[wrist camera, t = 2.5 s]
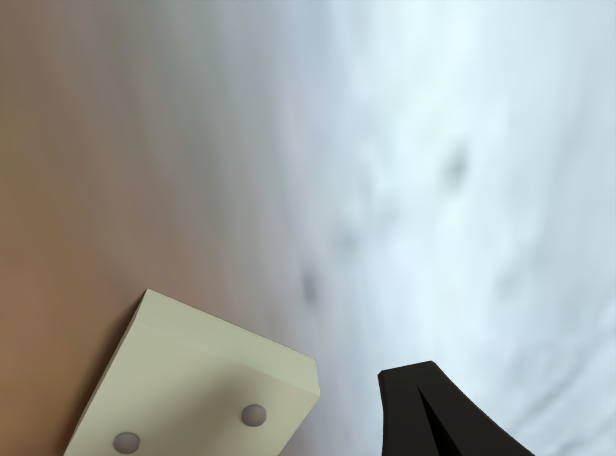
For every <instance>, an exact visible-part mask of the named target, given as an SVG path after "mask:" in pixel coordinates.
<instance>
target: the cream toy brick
mask: <svg viewBox="0 0 616 456" xmlns="http://www.w3.org/2000/svg"><path fill="white" fill-rule="evenodd" d="M319 397H320V390H319V384H318V377H317V371H316V365H315V359H313V358H311V357H309V356H306V355H304V354H302V353H299V352H297V351H294V350H292V349H290V348H287V347H285V346H283V345H280V344H278V343H276V342H273V341H271V340H268V339H266V338H264V337H261V336H259V335H257V334H254V333H252V332H250V331H247V330H245V329H242V328H240V327H238V326H235V325H233V324H231V323H228V322H226V321H224V320H221V319H219V318H216V317H214V316H212V315H209V314H207V313H205V312H202V311H200V310H198V309H195V308H193V307H190V306H188V305H186V304H183V303H181V302H179V301H176V300H174V299H172V298H169V297H167V296H164V295H162V294H160V293H157V292H155V291H153V290H150V289H147V290H146V292H145V294H144V296H143V298H142V300H141V302H140V304H139V306H138V308H137V310H136V311H135V313H134V315H133V317H132V319H131V321H130V323H129V325H128V327H127V329H126V331H125V333H124V334H123V336H122V338H121V340H120V342H119V344H118V346H117V348H116V350H115V352H114V354H113V356H112V357H111V359H110V361H109V363H108V365H107V367H106V369H105V371H104V373H103V375H102V377H101V378H100V380H99V382H98V384H97V386H96V388H95V390H94V392H93V394H92V396H91V398H90V400H89V401H88V403H87V405H86V407H85V409H84V411H83V413H82V415H81V417H80V419H79V421H78V424H77V426H76V428H75V430H74V433H73V435H72V437H71V439H70V442H69V444H68V446H67V448H66V451H65V453H64V455H63V456H278V455H279V453H280V452H281V451H282V449H283V448H284V446H285V445H286V444H287V442H288V441H289V439H290V438H291V437H292V435H293V434H294V432H295V431H296V430H297V428H298V427H299V425H300V424H301V422H302V421H303V420H304V418H305V417H306V415H307V414H308V413H309V411H310V410H311V408H312V407H313V406H314V404H315V403H316V401H317V400H318V399H319Z"/></svg>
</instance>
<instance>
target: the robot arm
mask: <svg viewBox="0 0 616 456" xmlns="http://www.w3.org/2000/svg"><path fill="white" fill-rule="evenodd" d="M378 381H379V387H380V394H381V400H382V406H383V447H382V456H535V455H534V454H532V453H531V452H530V451H529V450H527V449H526V448H525V447H524V446H522V445H521V444H520V443H519V442H517V441H516V440H515V439H514V438H513V437H511V436H510V435H509V434H508V433H506V432H505V431H504V430H503V429H502V428H501V427H499V426H498V425H497V424H496V423H495V422H494V421H493V420H492V419H490V418H489V417H488V416H487V415H486V414H485V413H484V412H483V411H482V410H481V409H479V408H478V407H477V406H476V405H475V404H474V403H473V402H472V401H471V400H470V399H469V398H468V397H467V396H466V395H465V394H464V393H463V392H462V391H461V390H460V389H459V388H458V387H457V386H456V385H455V384H454V383H453V382H452V381H451V380H450V379H449V378H448V377H447V376H446V375H445V373H444V372H443V371H442V370H441V369H440V368H439V367H438V366H437V364H436V363H434V362H433V361H426V362H421V363H417V364H412V365H407V366H402V367H397V368H392V369H387V370H382V371H381V372H380V373H379V374H378Z"/></svg>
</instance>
